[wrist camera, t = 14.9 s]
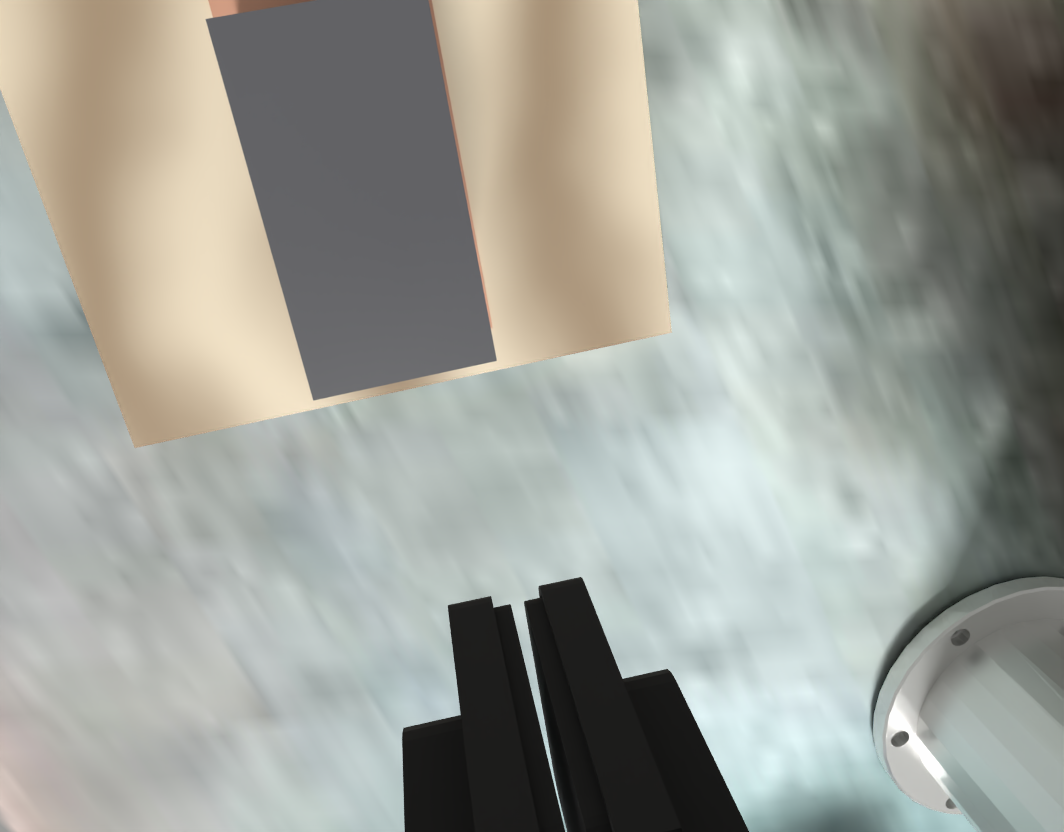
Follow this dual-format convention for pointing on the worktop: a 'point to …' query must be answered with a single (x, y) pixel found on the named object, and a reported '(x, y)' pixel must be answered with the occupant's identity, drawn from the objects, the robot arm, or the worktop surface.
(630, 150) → the pin board
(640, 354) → the worktop surface
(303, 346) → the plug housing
